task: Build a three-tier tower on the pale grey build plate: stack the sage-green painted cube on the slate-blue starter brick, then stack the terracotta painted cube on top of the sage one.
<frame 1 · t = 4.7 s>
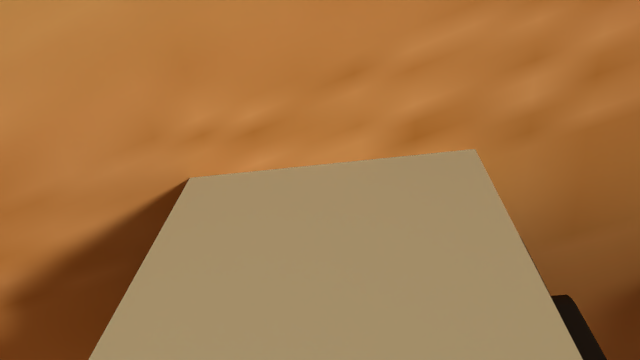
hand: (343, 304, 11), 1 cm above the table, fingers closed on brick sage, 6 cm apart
brick sage: (344, 273, 12), on the table, touching gripper
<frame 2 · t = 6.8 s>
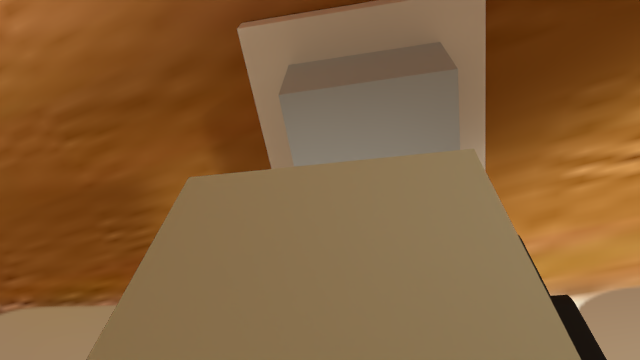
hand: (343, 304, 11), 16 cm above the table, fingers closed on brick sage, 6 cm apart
build plate: (370, 113, 25), on the table
brick sage: (343, 273, 12), point 15 cm above the table, touching gripper
when the fingers open (7 cm above the table, at t = 9.0 s): brick sage stays where it is, resting on build plate.
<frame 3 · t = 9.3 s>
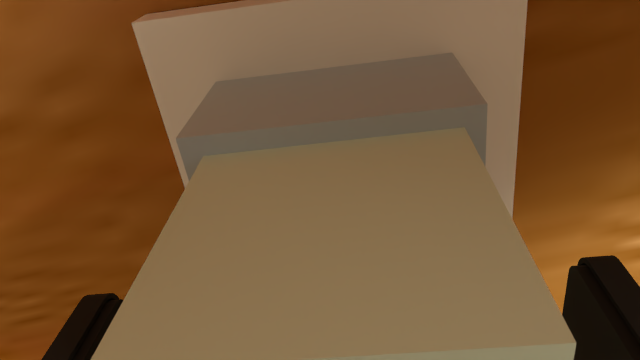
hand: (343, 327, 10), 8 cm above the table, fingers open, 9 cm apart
build plate: (344, 154, 17), on the table
brick sage: (345, 246, 12), point 5 cm above the table, touching build plate
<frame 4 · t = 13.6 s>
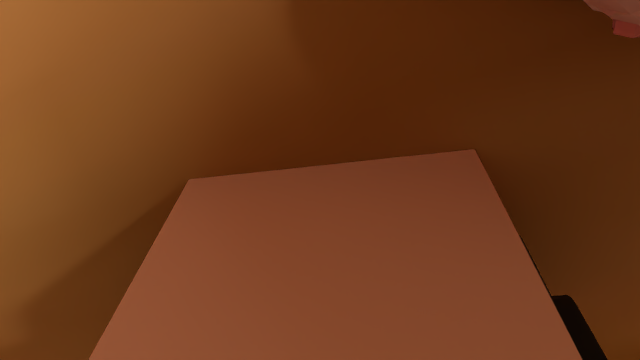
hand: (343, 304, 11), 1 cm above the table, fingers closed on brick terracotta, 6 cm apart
brick terracotta: (344, 274, 12), on the table, touching gripper
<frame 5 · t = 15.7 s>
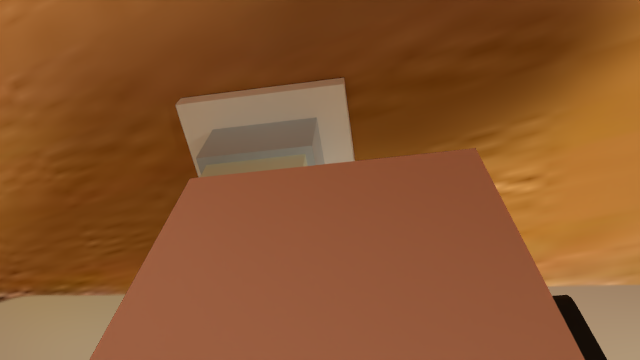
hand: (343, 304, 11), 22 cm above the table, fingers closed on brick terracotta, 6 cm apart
build plate: (277, 161, 34), on the table
brick terracotta: (344, 273, 12), point 21 cm above the table, touching gripper
brick sage: (266, 201, 30), point 5 cm above the table, touching build plate
when the fingers open (13 cm above the table, at t = 18.2 s): brick terracotta drops 1 cm, resting on brick sage.
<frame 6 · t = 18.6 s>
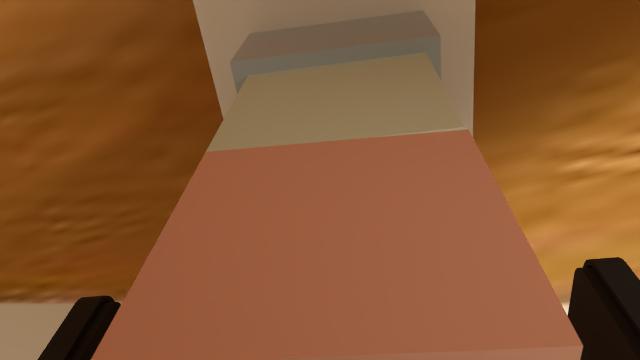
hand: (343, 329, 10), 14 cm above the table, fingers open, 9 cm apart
build plate: (344, 94, 22), on the table
brick terracotta: (345, 245, 12), point 11 cm above the table, touching brick sage
brick sage: (345, 144, 18), point 5 cm above the table, touching brick terracotta, build plate
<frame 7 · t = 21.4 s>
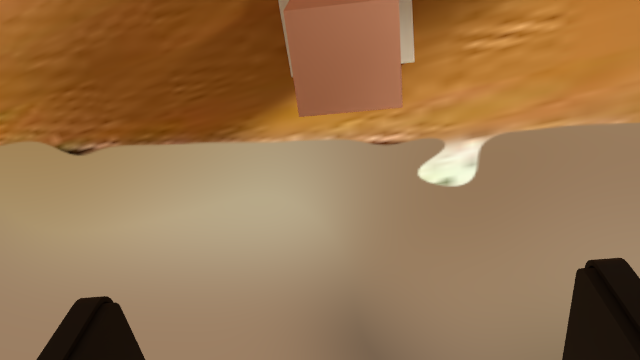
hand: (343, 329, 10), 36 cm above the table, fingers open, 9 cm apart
build plate: (345, 2, 41), on the table
brick terracotta: (345, 34, 32), point 11 cm above the table, touching brick sage
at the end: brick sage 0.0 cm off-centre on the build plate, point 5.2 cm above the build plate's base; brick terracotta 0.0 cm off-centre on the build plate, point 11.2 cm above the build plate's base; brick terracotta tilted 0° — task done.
